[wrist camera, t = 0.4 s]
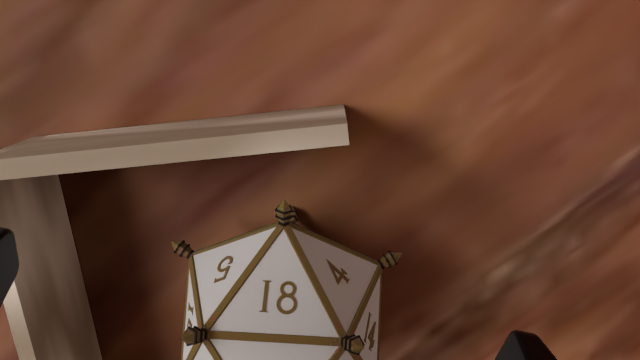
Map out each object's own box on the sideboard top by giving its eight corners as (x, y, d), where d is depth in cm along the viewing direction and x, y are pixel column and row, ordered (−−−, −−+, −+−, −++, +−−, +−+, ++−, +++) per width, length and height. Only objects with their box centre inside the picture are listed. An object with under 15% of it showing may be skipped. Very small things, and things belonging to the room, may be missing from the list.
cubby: (372, 405, 26) (381, 483, 21) (105, 427, 26) (61, 507, 22) (343, 104, 22) (347, 123, 18) (34, 136, 22) (-37, 162, 18)
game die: (320, 211, 27) (477, 209, 19) (311, 390, 26) (471, 475, 18) (132, 197, 22) (227, 185, 14) (114, 414, 22) (203, 544, 13)
